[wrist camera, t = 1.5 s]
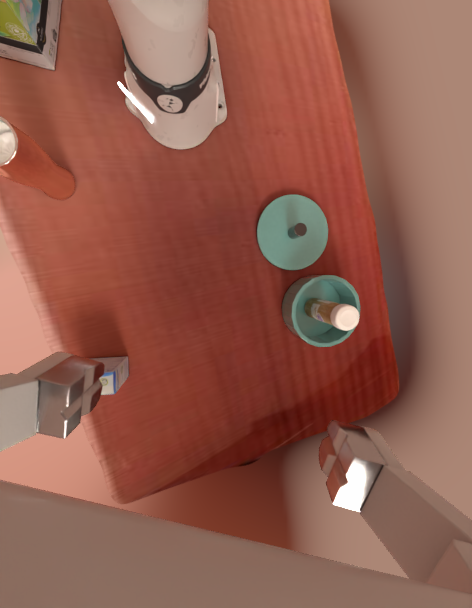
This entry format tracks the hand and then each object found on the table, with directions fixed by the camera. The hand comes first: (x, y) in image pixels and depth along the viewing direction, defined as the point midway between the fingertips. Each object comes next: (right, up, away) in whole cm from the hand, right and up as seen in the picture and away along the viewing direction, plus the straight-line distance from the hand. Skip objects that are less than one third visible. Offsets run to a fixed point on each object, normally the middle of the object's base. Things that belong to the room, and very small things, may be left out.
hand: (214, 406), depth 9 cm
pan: (+18, +3, +47) cm, 50 cm away
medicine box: (-26, -10, +43) cm, 51 cm away
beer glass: (-33, +26, +37) cm, 56 cm away
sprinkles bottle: (+18, +3, +47) cm, 50 cm away
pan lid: (+13, +19, +43) cm, 49 cm away
